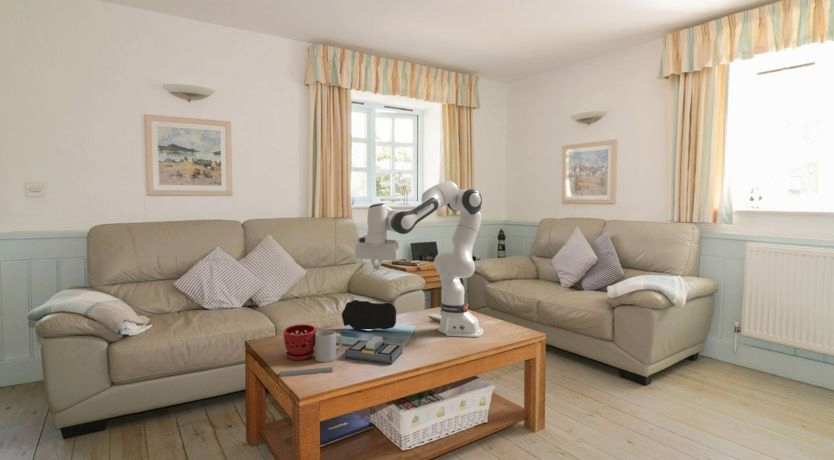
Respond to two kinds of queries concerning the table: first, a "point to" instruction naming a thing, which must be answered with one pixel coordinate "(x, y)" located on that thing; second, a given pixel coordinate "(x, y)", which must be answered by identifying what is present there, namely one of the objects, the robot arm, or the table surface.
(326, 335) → the mug
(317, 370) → the half round rod
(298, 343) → the plant pot
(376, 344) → the grey rectangular block
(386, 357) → the rack
